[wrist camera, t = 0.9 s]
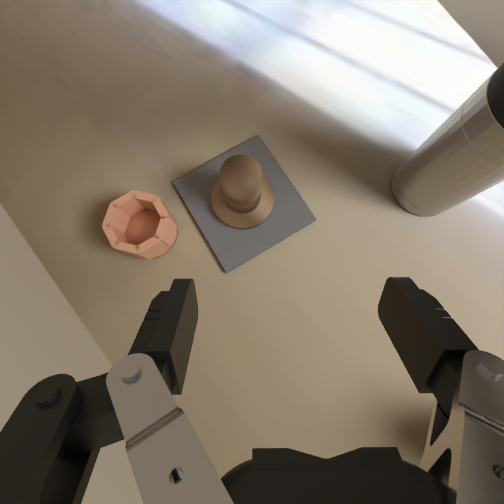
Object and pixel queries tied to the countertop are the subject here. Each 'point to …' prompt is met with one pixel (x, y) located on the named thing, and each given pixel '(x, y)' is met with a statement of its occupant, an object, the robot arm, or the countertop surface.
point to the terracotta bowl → (140, 225)
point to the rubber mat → (249, 240)
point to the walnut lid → (242, 193)
